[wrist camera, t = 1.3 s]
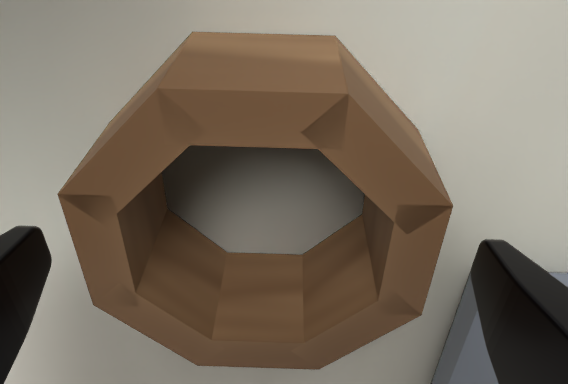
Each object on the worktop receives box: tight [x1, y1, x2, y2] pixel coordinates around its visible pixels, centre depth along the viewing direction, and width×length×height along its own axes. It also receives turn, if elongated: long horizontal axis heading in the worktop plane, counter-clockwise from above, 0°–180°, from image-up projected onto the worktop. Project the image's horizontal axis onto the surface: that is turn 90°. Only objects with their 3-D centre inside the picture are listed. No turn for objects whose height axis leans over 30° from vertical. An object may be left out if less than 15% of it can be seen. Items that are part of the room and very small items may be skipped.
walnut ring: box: [58, 32, 453, 370], centre depth 10 cm, size 7×7×3 cm
